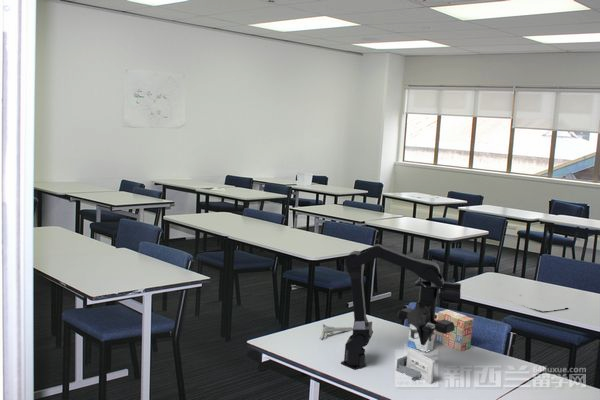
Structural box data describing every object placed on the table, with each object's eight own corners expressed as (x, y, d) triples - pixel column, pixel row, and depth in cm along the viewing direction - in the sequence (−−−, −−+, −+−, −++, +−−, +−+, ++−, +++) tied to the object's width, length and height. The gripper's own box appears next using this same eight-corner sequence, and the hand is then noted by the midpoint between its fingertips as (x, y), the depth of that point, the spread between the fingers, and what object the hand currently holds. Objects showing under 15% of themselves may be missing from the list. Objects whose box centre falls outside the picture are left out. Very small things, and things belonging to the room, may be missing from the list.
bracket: (393, 371, 200) (394, 360, 199) (407, 365, 206) (408, 355, 205) (415, 381, 193) (416, 369, 193) (429, 374, 199) (431, 363, 199)
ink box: (406, 346, 225) (410, 316, 223) (413, 343, 229) (416, 314, 227) (426, 353, 219) (429, 322, 218) (433, 350, 223) (436, 320, 221)
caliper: (321, 341, 224) (322, 325, 223) (319, 340, 225) (320, 324, 224) (354, 330, 239) (355, 315, 238) (352, 329, 240) (353, 314, 239)
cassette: (404, 370, 202) (406, 348, 201) (408, 369, 203) (410, 347, 202) (429, 384, 192) (432, 361, 191) (433, 383, 193) (436, 361, 192)
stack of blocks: (416, 333, 240) (419, 304, 239) (426, 331, 244) (429, 302, 243) (461, 351, 224) (464, 320, 222) (470, 348, 228) (474, 318, 226)
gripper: (390, 296, 195) (385, 341, 197) (439, 311, 182) (434, 359, 184) (409, 291, 203) (404, 334, 205) (457, 305, 190) (452, 351, 192)
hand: (422, 345), depth 196 cm, fingers closed
